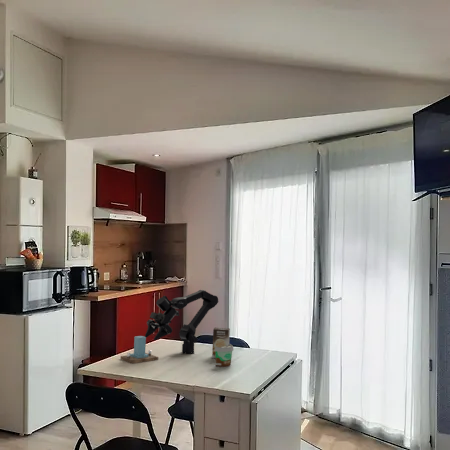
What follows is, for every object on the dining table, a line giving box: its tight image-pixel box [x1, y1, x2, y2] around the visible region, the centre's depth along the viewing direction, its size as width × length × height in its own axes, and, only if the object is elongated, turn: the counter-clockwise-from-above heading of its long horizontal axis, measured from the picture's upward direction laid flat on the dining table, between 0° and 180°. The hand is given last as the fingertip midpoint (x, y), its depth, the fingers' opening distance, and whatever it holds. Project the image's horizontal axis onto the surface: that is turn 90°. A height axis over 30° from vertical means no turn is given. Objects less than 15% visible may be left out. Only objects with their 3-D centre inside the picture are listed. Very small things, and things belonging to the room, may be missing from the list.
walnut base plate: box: [120, 352, 159, 364], centre depth 262 cm, size 16×12×2 cm
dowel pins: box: [126, 350, 152, 358], centre depth 262 cm, size 15×2×2 cm, turn 130°
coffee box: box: [211, 327, 231, 359], centre depth 274 cm, size 9×6×16 cm
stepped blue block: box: [130, 335, 149, 359], centre depth 262 cm, size 7×7×10 cm
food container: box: [215, 343, 235, 368], centre depth 255 cm, size 12×6×10 cm, turn 143°
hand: (149, 338), depth 266 cm, fingers open, 9 cm apart
